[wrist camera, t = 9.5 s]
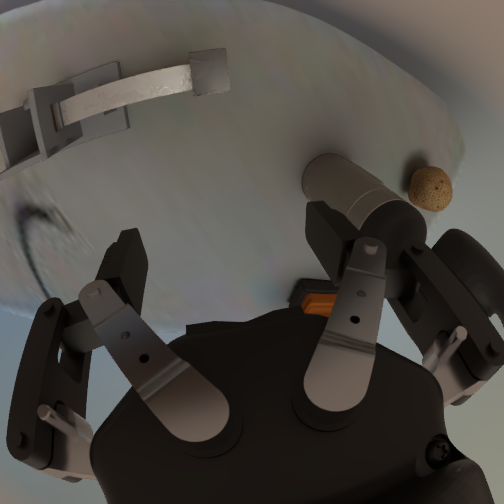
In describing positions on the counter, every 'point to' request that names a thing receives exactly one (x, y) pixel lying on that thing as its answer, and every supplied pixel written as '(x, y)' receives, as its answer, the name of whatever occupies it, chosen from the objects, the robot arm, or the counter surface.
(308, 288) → the power drill
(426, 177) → the natural sponge
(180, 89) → the grey handle
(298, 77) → the counter surface
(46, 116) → the chute frame
